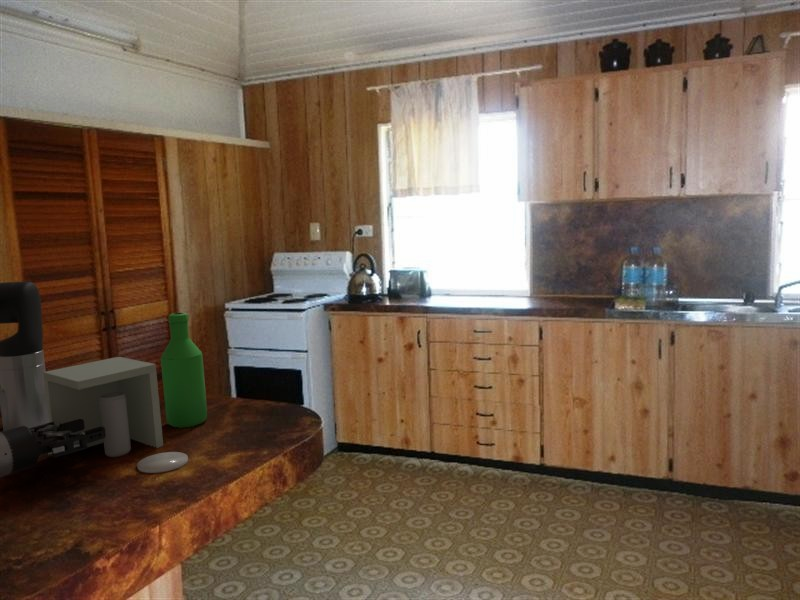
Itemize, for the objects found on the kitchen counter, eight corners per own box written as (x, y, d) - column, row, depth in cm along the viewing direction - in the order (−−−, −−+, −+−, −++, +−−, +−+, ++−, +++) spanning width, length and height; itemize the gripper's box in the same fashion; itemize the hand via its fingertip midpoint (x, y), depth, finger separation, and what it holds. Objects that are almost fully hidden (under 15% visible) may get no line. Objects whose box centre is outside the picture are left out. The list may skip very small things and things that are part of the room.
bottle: (195, 429, 143) (185, 316, 140) (159, 428, 145) (148, 317, 141) (214, 417, 152) (205, 310, 148) (180, 416, 153) (170, 310, 150)
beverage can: (136, 450, 132) (130, 392, 130) (119, 458, 127) (112, 398, 126) (117, 448, 133) (111, 390, 132) (99, 456, 129) (93, 397, 127)
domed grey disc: (137, 476, 118) (136, 473, 118) (137, 459, 126) (137, 456, 126) (189, 467, 121) (189, 464, 121) (186, 451, 129) (186, 449, 129)
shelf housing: (87, 470, 122) (77, 381, 119) (52, 455, 131) (43, 372, 128) (163, 445, 133) (155, 364, 131) (126, 433, 143) (118, 356, 140)
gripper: (15, 440, 109) (110, 414, 121) (-17, 426, 118) (74, 403, 130) (20, 483, 110) (114, 453, 122) (-12, 465, 119) (78, 439, 131)
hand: (93, 427), depth 126 cm, fingers open, 8 cm apart
